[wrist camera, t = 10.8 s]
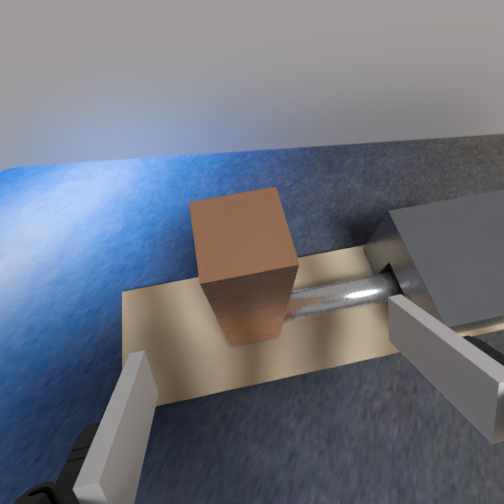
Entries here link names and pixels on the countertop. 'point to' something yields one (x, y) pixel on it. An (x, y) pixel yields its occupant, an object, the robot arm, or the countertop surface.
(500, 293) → the bearing block
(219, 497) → the countertop surface
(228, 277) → the shaft
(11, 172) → the countertop surface
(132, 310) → the track base
